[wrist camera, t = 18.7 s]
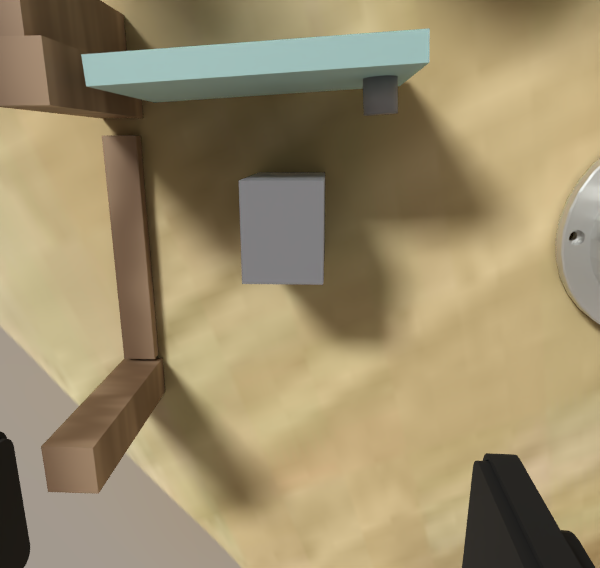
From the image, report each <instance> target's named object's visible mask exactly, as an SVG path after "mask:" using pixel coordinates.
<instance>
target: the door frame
mask: <svg viewBox="0 0 600 568" xmlns="http://www.w3.org/2000/svg"><path fill="white" fill-rule="evenodd" d="M121 51H127V48H126V36H125V24H124V15H123V14H121V13H120V12H118V11H116V10H115V9H113V8H112V7H110V6H108V5H107V4H105V3H104V2H102V1H100V0H0V107H5V108H14V109H23V110H32V111H41V112H50V113H59V114H68V115H77V116H86V117H95V118H143V108H142V99H137V98H133V97H129V96H125V95H120V94H116V93H112V92H108V91H103V90H99V89H95V88H91V87H86V82H85V76H84V69H83V63H82V57H81V54H94V53H107V52H121ZM102 141H103V151H104V161H105V171H106V181H107V191H108V200H109V210H110V220H111V230H112V240H113V250H114V260H115V270H116V279H117V289H118V299H119V309H120V319H121V329H122V339H123V349H124V360H123V361H122V362H121V363H120V364H119V365H118V366H117V367H116V368H115V369H114V370H113V371H112V372H111V373H110V374H109V375H108V376H107V377H106V379H105V380H104V381H103V382H102V383H101V384H100V385H99V386H98V387H97V388H96V389H95V390H94V391H93V392H92V393H91V394H90V395H89V396H88V398H87V399H86V400H85V401H84V402H83V403H82V404H81V405H80V406H79V407H78V408H77V409H76V410H75V411H74V412H73V413H72V414H71V416H70V417H69V418H68V419H67V420H66V421H65V422H64V423H63V424H62V425H61V426H60V427H59V428H58V429H57V430H56V432H54V434H53V435H52V436H51V437H50V438H49V439H48V440H47V441H46V442H45V443H44V444H43V445H42V446H41V449H42V455H43V462H44V468H45V475H46V481H47V488H48V492H69V493H71V492H72V493H99V492H100V490H101V489H102V487H103V486H104V484H105V483H106V481H107V480H108V478H109V477H110V475H111V474H112V472H113V471H114V469H115V468H116V466H117V464H118V463H119V461H120V460H121V458H122V457H123V455H124V454H125V452H126V451H127V449H128V448H129V446H130V445H131V443H132V442H133V440H134V439H135V437H136V436H137V434H138V433H139V431H140V429H141V428H142V426H143V425H144V423H145V422H146V420H147V419H148V417H149V416H150V414H151V413H152V411H153V410H154V408H155V407H156V405H157V404H158V402H159V401H160V399H161V397H162V396H163V394H164V393H165V383H164V370H163V358H156V357H157V356H158V342H157V330H156V317H155V305H154V293H153V281H152V269H151V256H150V244H149V232H148V220H147V208H146V195H145V183H144V171H143V159H142V147H141V136H102Z"/></svg>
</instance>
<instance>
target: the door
mask: <svg viewBox="0 0 600 568" xmlns="http://www.w3.org/2000/svg"><path fill="white" fill-rule="evenodd" d="M429 30H430V29H417V30H403V31H390V32H376V33H363V34H350V35H336V36H323V37H309V38H296V39H282V40H269V41H255V42H242V43H228V44H215V45H201V46H188V47H175V48H161V49H148V50H134V51H121V52H107V53H94V54H81V57H82V63H83V69H84V76H85V82H86V87H91V88H95V89H99V90H103V91H108V92H112V93H116V94H120V95H125V96H129V97H133V98H137V99H142V100H146V101H150V102H154V103H156V102H171V101H186V100H201V99H216V98H230V97H245V96H260V95H275V94H290V93H305V92H320V91H335V90H350V89H363V108H364V115H386V114H395V113H398V86H401V85H402V84H403V83H404V82H406V81H407V80H408V79H409V78H411V77H412V76H413V75H414V74H415V73H417V72H418V71H419V70H420V69H422V68H423V67H424V66H425V65H427V64H428V63H429Z"/></svg>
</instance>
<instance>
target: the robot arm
mask: <svg viewBox="0 0 600 568" xmlns="http://www.w3.org/2000/svg"><path fill="white" fill-rule="evenodd" d="M572 232H574V236H573V237H572V238H571V239H569V237H570V234H571V233H572ZM556 262H557V266H558V271H559V275H560V279H561V281H562V283H563V285H564V287H565V289H566V291H567V293H568V295H569V296H570V298H571V299H572V300H573V302H574V303H575V304H576V305H577V307H578V308H579V309H580V310H581V311H582V312H584V313H585V314H586V315H587V316H588V317H590V318H591V319H592V320H593V321H595V322H596V323H598V324H599V325H600V158H599V159H598V160H597V161H596V162H594V163H593V164H592V165H591V167H590V168H589V169H588V170H587V171H586V172H585V174H584V175H583V176H582V177H581V178H580V179H579V181H578V182H577V184H576V185H575V187H574V189H573V190H572V192H571V194H570V195H569V197H568V199H567V201H566V203H565V206H564V209H563V211H562V214H561V216H560V219H559V224H558V229H557V235H556ZM29 554H30V542H29V536H28V530H27V524H26V518H25V512H24V506H23V500H22V494H21V488H20V481H19V475H18V469H17V464H16V457H15V451H14V446H13V443H12V441H11V440H9V439H7V437H6V435H5V434H4V433H2V432H0V568H24V566H25V564H26V563H27V560H28V557H29ZM462 568H595V566H594V565H593V563H592V561H591V560H590V558H589V556H588V555H587V553H586V551H585V550H584V548H583V546H582V545H581V543H580V541H579V540H578V539H577V537H576V536H575V535H574V534H573V533H572V532H570V531H565V530H560V529H559V527H558V525H557V524H556V522H555V520H554V518H553V517H552V515H551V513H550V511H549V510H548V508H547V506H546V504H545V503H544V501H543V499H542V497H541V496H540V494H539V492H538V490H537V489H536V487H535V485H534V483H533V482H532V480H531V478H530V476H529V475H528V473H527V471H526V469H525V468H524V466H523V464H522V462H521V461H520V459H519V458H518V456H517V455H509V454H487V453H486V454H485V455H484V458H483V461H475V462H474V465H473V473H472V482H471V491H470V500H469V509H468V519H467V528H466V537H465V546H464V555H463V564H462Z"/></svg>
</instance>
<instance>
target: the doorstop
mask: <svg viewBox="0 0 600 568" xmlns="http://www.w3.org/2000/svg"><path fill="white" fill-rule="evenodd" d="M239 206H240V235H241V264H242V284H311V285H323V280H324V247H325V172H263V173H256V174H254V175H251V176H249V177H246V178H244V179H241V180H239Z"/></svg>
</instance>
